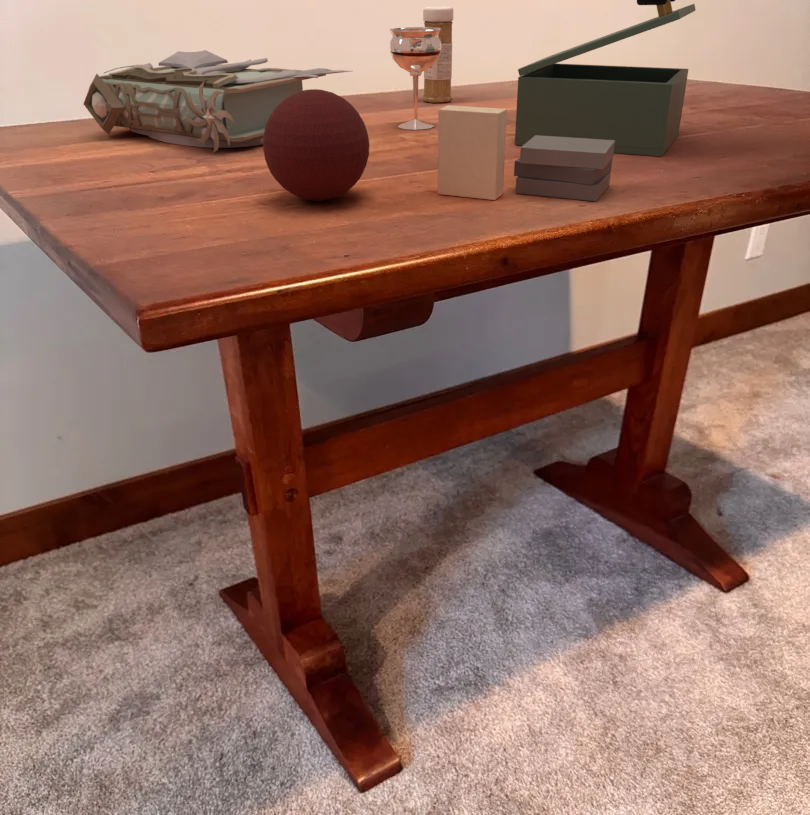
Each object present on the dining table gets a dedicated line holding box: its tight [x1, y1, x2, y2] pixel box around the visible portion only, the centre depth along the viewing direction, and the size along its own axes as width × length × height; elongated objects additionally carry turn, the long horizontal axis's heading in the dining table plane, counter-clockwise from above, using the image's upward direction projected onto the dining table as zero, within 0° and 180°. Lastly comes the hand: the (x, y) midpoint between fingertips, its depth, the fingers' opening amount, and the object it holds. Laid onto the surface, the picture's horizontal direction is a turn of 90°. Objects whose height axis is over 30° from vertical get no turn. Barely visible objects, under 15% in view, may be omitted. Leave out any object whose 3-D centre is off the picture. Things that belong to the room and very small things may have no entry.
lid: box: [517, 0, 696, 77], centre depth 94 cm, size 18×14×5 cm
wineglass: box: [389, 26, 441, 131], centre depth 106 cm, size 7×7×12 cm
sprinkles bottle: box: [422, 5, 454, 104], centre depth 123 cm, size 5×5×14 cm
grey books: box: [513, 135, 615, 202], centre depth 79 cm, size 9×7×4 cm
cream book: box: [437, 104, 508, 201], centre depth 77 cm, size 6×2×8 cm, turn 66°
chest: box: [514, 63, 689, 157], centre depth 98 cm, size 18×14×8 cm
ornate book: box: [83, 49, 352, 154], centre depth 105 cm, size 23×10×30 cm
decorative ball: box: [262, 88, 370, 202], centre depth 75 cm, size 10×10×10 cm
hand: (657, 1), depth 90 cm, fingers closed on lid, 6 cm apart
